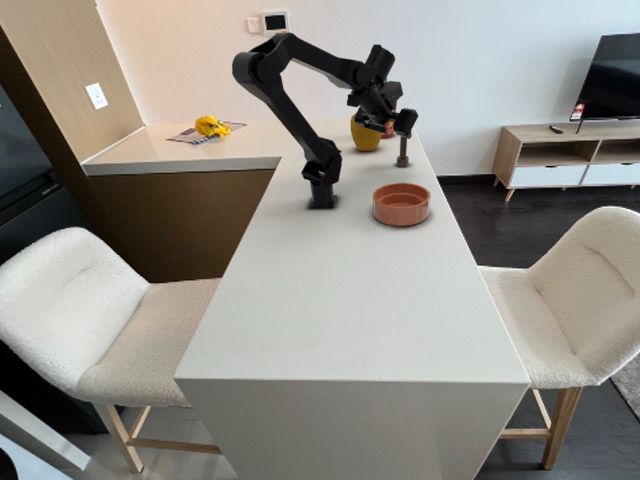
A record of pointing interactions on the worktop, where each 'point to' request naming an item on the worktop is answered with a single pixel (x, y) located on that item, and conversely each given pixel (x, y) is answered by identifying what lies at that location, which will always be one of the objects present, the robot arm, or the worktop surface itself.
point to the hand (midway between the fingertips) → (397, 134)
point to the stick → (403, 153)
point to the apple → (364, 136)
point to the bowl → (401, 203)
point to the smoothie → (389, 125)
